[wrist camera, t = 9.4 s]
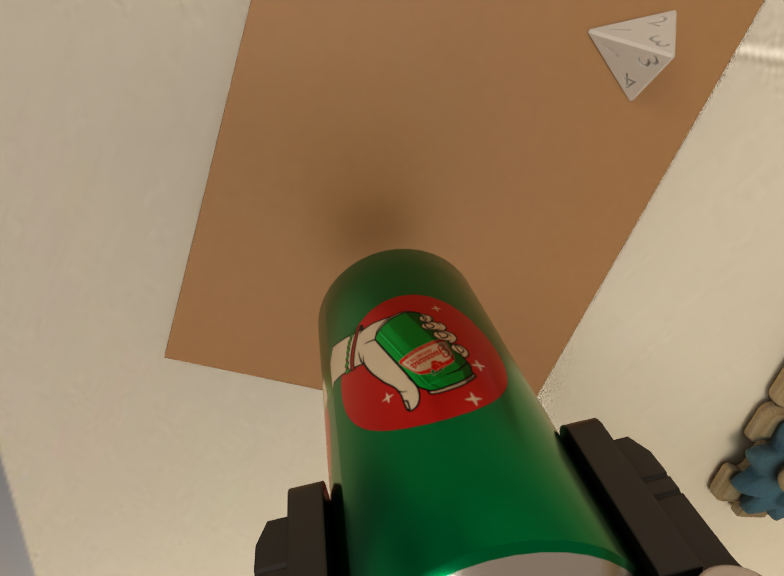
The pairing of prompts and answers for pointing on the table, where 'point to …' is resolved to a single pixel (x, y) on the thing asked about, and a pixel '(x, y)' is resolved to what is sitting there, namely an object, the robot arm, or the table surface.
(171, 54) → the table surface
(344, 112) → the kraft paper
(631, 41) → the tetrahedral die
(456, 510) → the soda can
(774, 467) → the gear puzzle
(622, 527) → the robot arm
